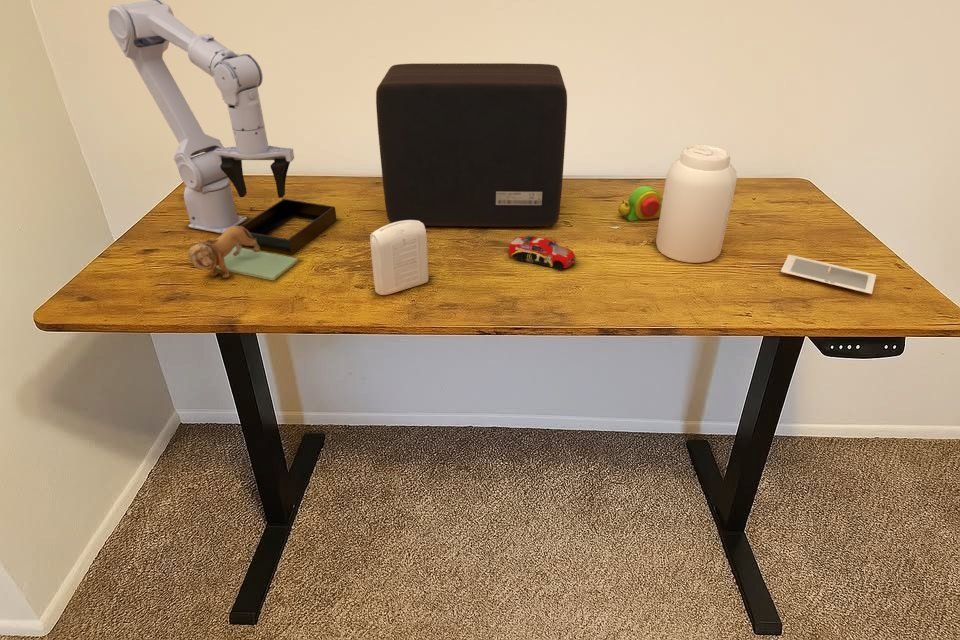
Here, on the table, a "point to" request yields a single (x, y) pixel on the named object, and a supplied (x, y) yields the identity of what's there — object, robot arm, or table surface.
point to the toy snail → (642, 204)
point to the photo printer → (399, 256)
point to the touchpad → (829, 273)
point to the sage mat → (258, 263)
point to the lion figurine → (221, 249)
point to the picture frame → (284, 213)
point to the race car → (541, 252)
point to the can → (696, 204)
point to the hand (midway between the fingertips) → (262, 195)
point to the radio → (472, 143)
